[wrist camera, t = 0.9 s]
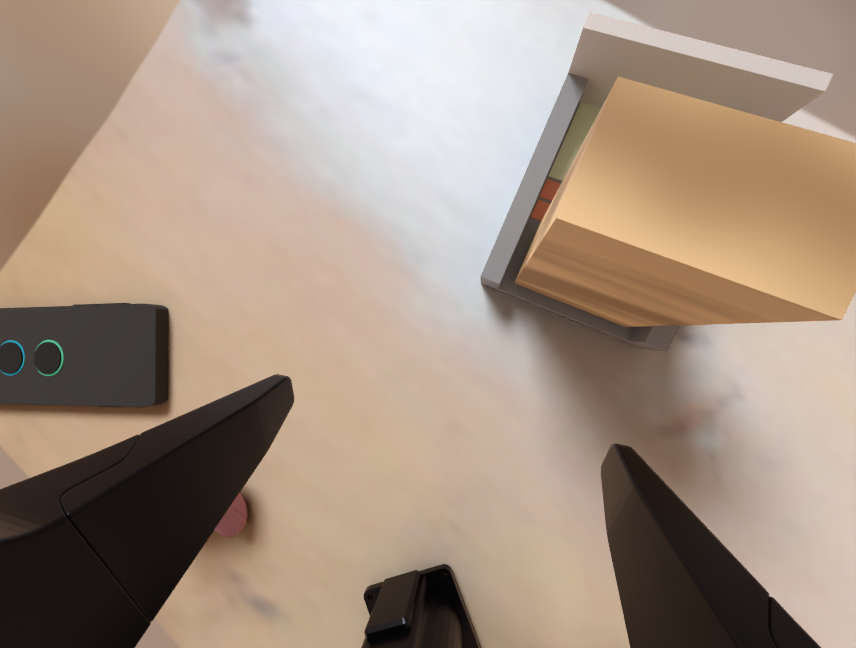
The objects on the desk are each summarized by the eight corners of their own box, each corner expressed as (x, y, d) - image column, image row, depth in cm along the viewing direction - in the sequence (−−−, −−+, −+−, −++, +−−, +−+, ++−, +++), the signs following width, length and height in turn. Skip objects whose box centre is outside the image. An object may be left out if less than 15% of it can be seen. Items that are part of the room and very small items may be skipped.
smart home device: (-46, 307, 29) (154, 301, 26) (-16, 309, 31) (174, 303, 28) (-48, 404, 29) (153, 409, 26) (-18, 400, 31) (173, 405, 28)
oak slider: (624, 326, 20) (841, 320, 8) (514, 283, 21) (556, 217, 9) (652, 265, 20) (918, 160, 8) (539, 224, 21) (618, 76, 9)
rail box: (641, 348, 22) (702, 354, 16) (481, 283, 23) (480, 266, 17) (734, 146, 21) (833, 74, 15) (562, 95, 23) (590, 12, 17)
